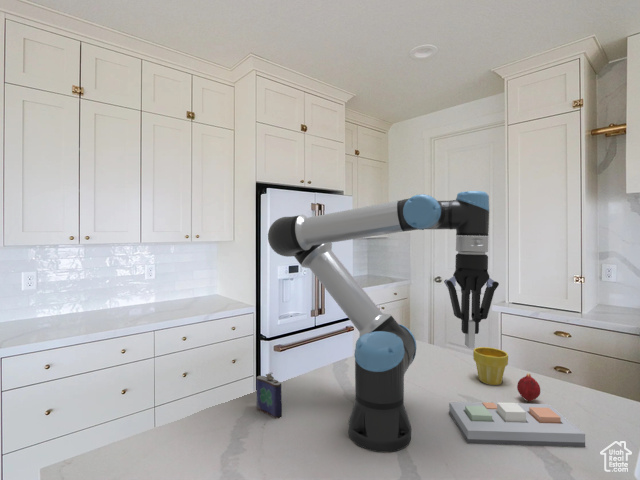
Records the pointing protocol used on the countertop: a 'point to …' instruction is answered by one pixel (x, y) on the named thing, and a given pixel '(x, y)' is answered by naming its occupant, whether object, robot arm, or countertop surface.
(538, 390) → the onion
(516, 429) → the keypad
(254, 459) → the countertop surface
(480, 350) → the plant pot
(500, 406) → the key offwhite
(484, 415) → the key sage
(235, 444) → the countertop surface
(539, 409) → the key terracotta
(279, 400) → the flask
